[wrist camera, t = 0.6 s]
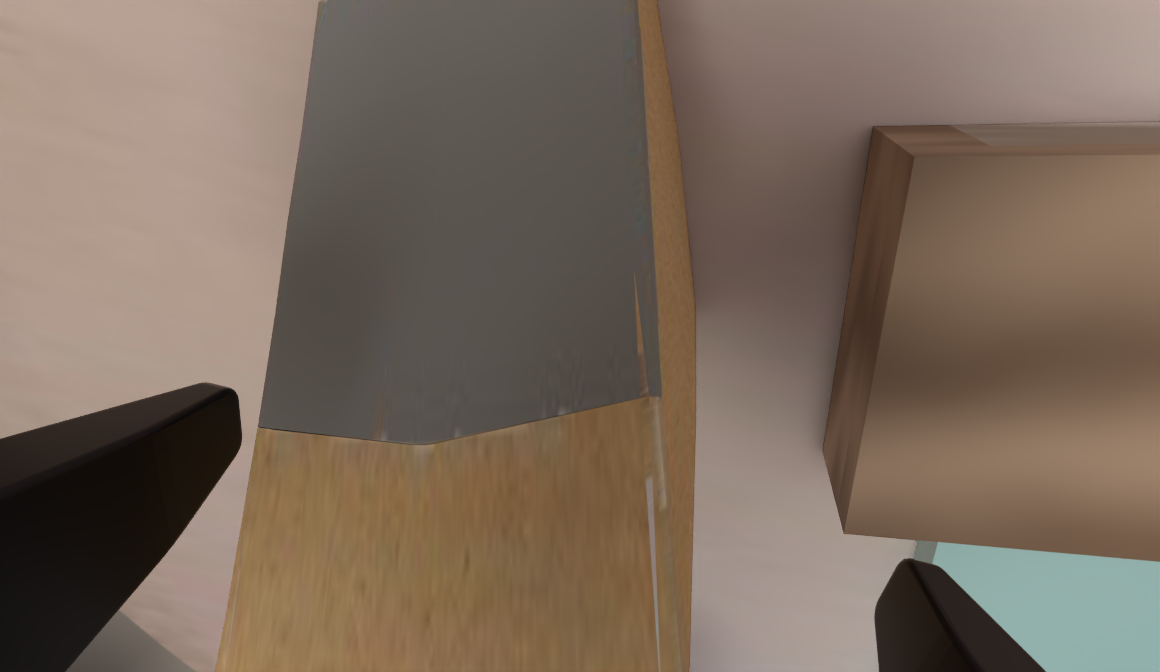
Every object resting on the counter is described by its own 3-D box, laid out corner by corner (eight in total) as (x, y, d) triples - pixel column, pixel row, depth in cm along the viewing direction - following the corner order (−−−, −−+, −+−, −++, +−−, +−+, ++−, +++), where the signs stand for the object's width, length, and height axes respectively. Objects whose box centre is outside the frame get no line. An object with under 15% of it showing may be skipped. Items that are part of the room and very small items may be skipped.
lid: (1174, 725, 27) (1206, 774, 26) (875, 687, 29) (885, 730, 28) (1305, 509, 22) (1357, 553, 20) (926, 482, 24) (944, 519, 22)
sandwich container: (630, -252, 16) (231, -1572, 3) (704, 311, 22) (700, 760, 9) (325, -151, 18) (-746, -586, 5) (474, 337, 24) (199, 730, 11)
